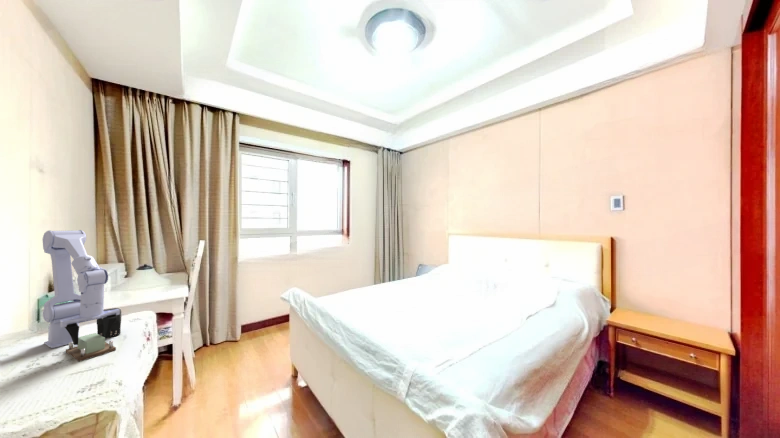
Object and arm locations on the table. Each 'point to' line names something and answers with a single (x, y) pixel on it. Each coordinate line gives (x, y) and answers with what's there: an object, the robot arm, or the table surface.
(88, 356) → the chassis
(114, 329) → the battery charger
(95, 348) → the pale green block
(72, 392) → the table surface
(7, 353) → the table surface
